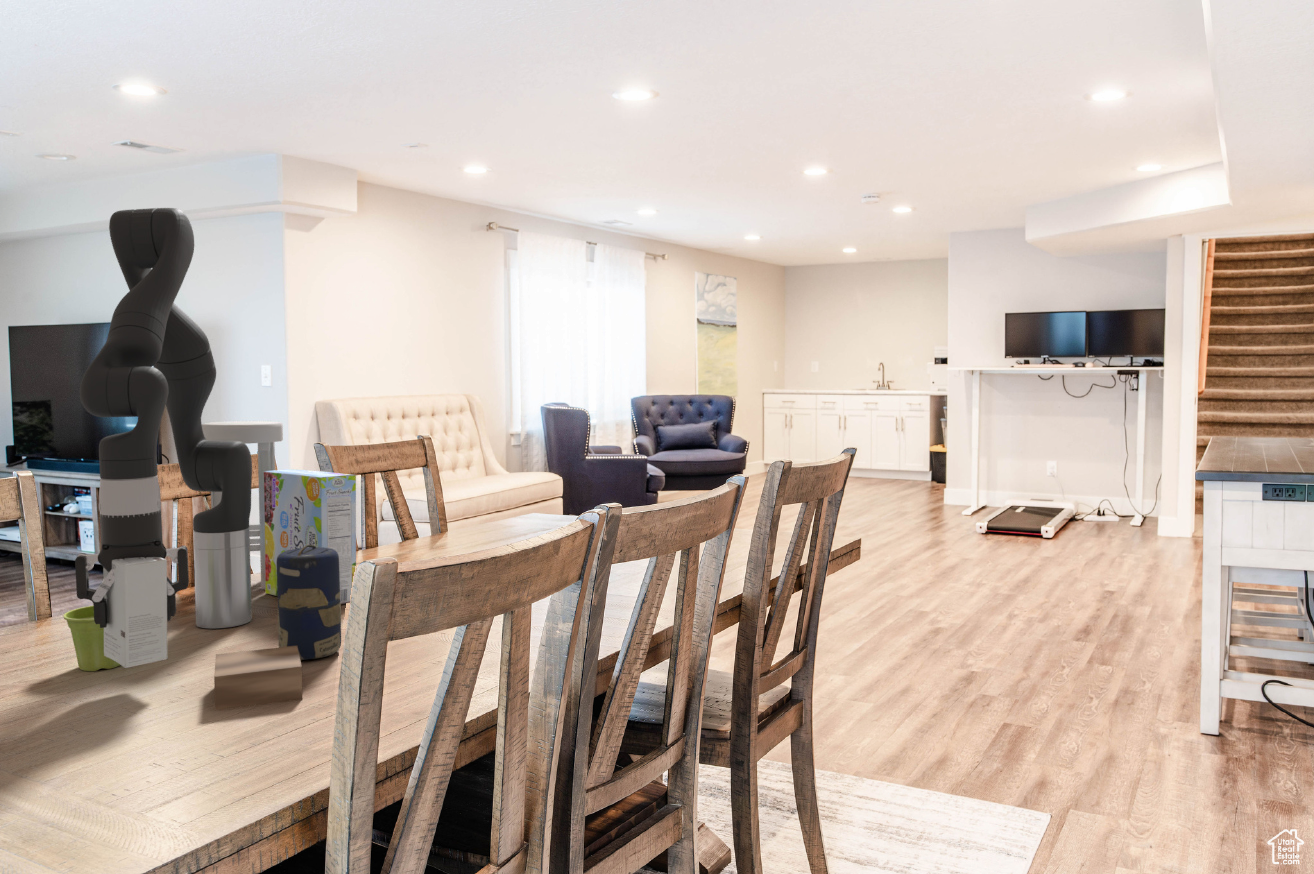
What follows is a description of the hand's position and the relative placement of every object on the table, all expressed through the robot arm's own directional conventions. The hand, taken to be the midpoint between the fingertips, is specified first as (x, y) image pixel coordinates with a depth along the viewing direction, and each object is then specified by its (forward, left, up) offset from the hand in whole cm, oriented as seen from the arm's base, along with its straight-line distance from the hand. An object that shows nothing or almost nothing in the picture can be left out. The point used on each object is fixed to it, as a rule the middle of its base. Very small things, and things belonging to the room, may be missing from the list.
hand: (136, 622), depth 132 cm
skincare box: (0, 0, -5) cm, 5 cm away
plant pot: (-16, -6, -10) cm, 20 cm away
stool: (-68, +15, -10) cm, 70 cm away
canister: (-9, +24, -10) cm, 27 cm away
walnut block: (+7, +16, -10) cm, 20 cm away
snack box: (-50, +26, -10) cm, 57 cm away
